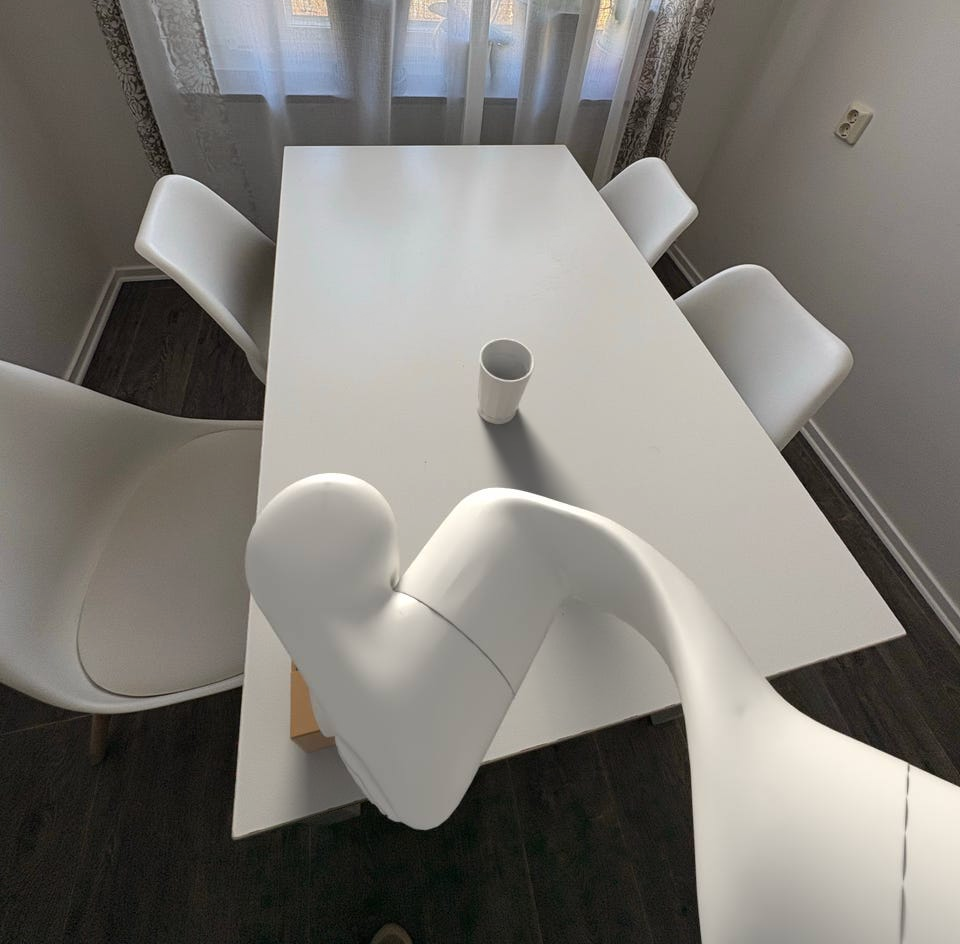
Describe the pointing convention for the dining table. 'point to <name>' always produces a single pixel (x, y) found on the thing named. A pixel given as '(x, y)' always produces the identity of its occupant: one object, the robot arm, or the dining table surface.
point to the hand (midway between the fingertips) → (362, 673)
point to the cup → (502, 379)
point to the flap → (301, 708)
